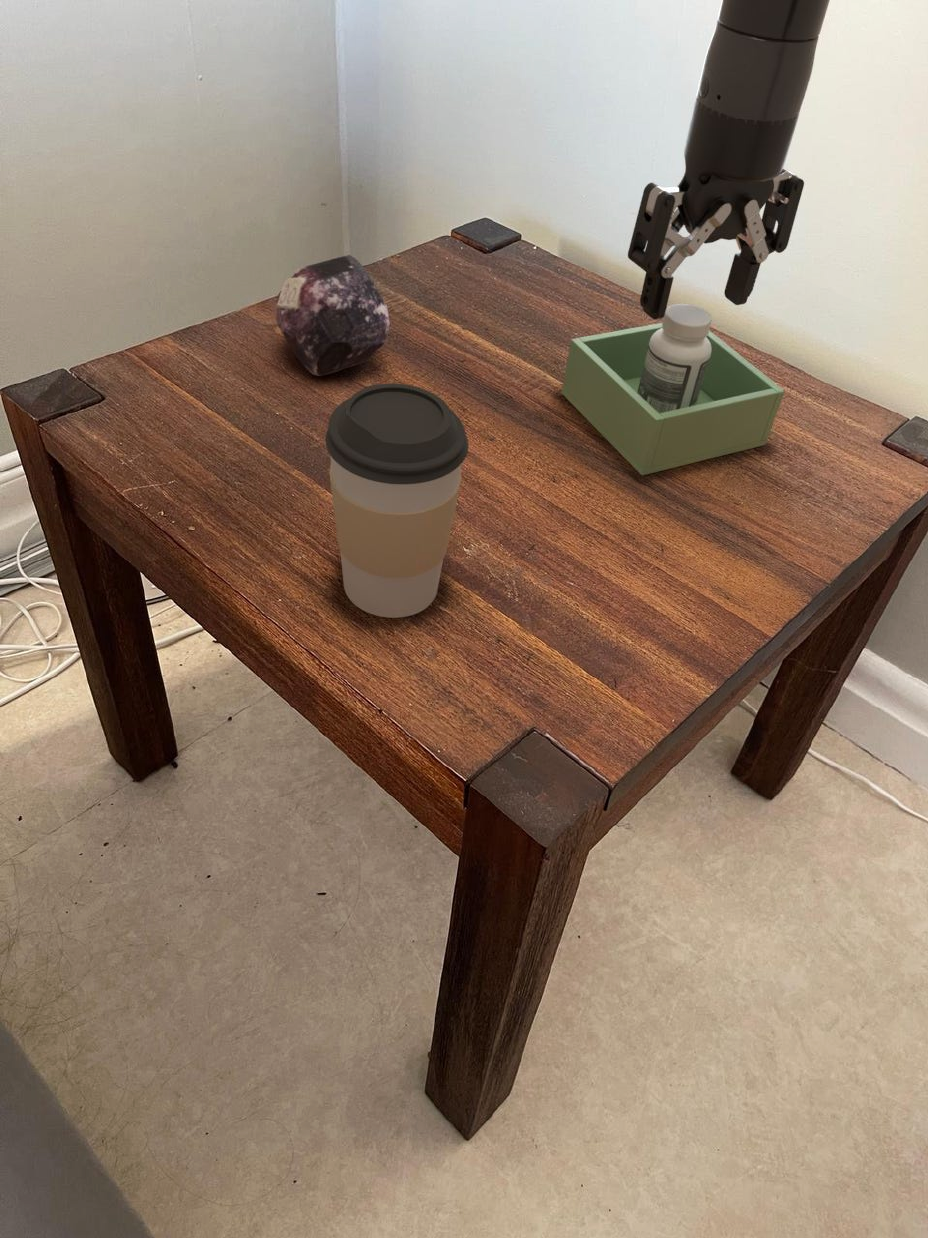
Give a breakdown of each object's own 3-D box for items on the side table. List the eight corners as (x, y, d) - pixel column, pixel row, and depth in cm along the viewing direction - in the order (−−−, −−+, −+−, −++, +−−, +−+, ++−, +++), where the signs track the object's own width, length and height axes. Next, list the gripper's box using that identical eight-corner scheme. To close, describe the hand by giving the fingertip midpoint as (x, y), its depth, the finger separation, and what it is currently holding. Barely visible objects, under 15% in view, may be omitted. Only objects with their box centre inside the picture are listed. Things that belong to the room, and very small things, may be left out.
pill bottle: (667, 392, 91) (693, 294, 85) (703, 422, 88) (734, 323, 81) (621, 404, 89) (644, 304, 82) (657, 435, 86) (684, 334, 79)
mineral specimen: (276, 307, 94) (315, 217, 88) (372, 360, 96) (417, 277, 90) (246, 354, 87) (286, 260, 80) (350, 411, 89) (397, 324, 83)
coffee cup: (403, 528, 75) (412, 354, 64) (478, 595, 70) (501, 419, 60) (303, 573, 70) (296, 393, 60) (377, 647, 66) (383, 467, 55)
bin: (678, 369, 96) (692, 316, 92) (765, 444, 88) (785, 390, 84) (561, 393, 91) (570, 338, 87) (641, 475, 83) (656, 419, 79)
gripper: (700, 123, 65) (649, 342, 77) (858, 108, 71) (788, 316, 82) (639, 87, 70) (599, 299, 81) (791, 76, 75) (733, 277, 86)
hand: (694, 307), depth 82 cm, fingers open, 8 cm apart
